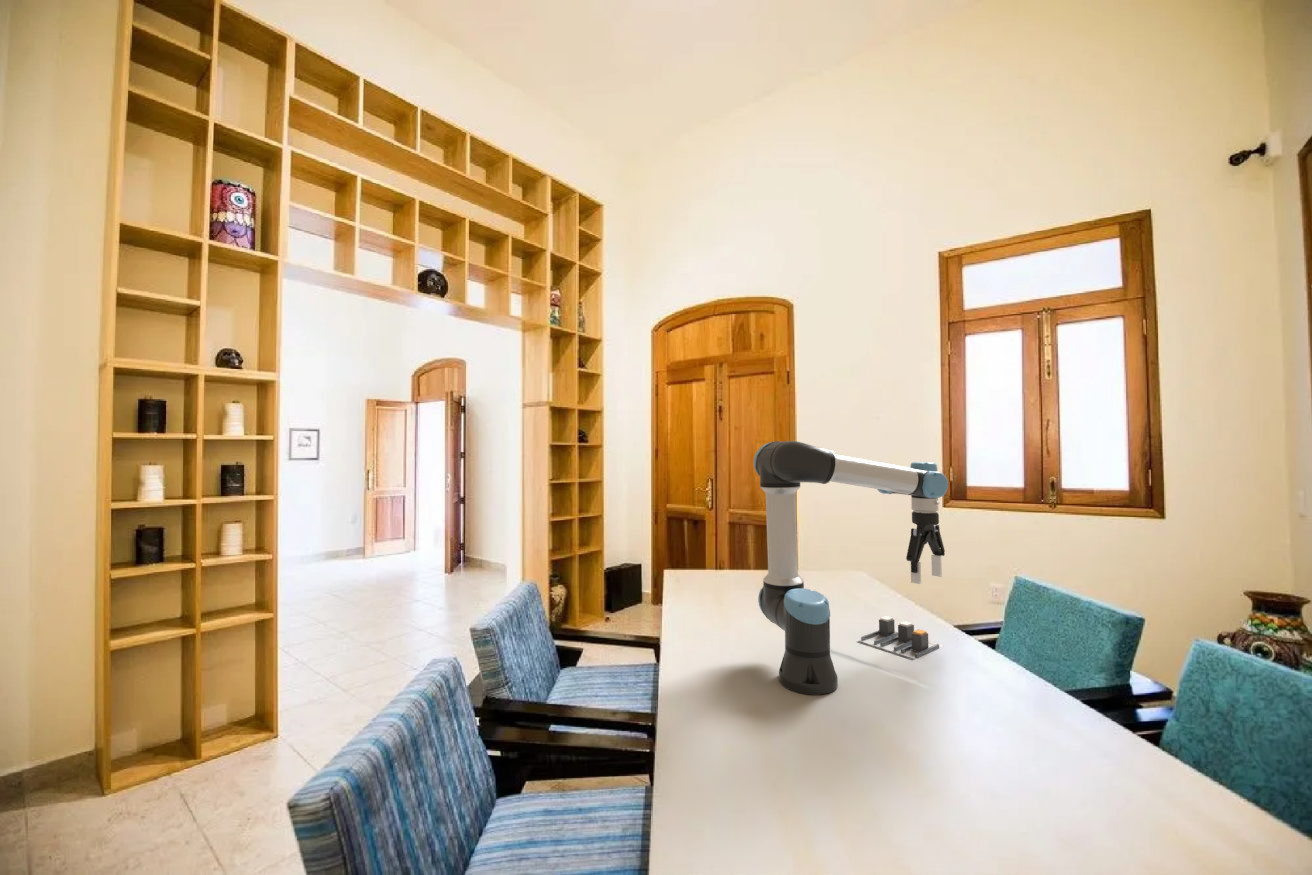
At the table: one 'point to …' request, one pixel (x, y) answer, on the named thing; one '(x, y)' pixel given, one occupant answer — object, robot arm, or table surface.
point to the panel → (903, 647)
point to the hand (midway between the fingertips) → (926, 579)
